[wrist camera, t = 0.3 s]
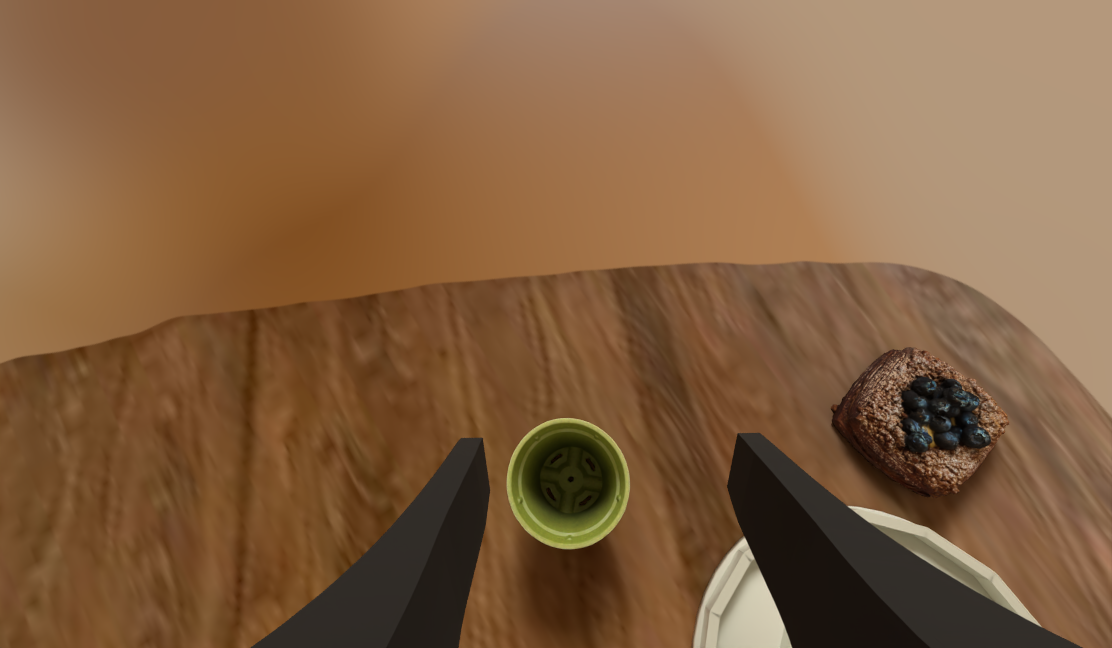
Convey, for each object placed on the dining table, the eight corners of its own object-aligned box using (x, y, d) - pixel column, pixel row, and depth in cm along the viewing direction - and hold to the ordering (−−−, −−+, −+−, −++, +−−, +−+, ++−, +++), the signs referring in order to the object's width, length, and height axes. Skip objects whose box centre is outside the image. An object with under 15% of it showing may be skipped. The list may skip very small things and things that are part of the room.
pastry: (814, 422, 41) (849, 415, 35) (886, 338, 43) (930, 318, 37) (921, 512, 38) (978, 520, 32) (993, 416, 40) (1059, 408, 34)
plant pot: (579, 408, 43) (577, 394, 34) (641, 488, 40) (655, 493, 32) (504, 468, 41) (483, 468, 33) (563, 555, 38) (556, 578, 30)
